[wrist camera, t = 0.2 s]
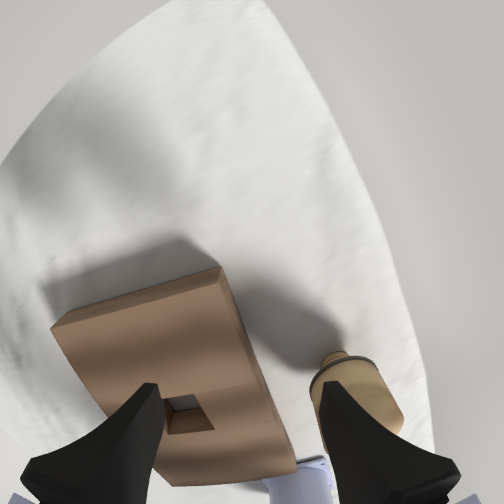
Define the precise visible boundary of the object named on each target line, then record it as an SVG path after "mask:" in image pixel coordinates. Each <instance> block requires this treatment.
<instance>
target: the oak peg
mask: <svg viewBox="0 0 504 504" xmlns="http://www.w3.org/2000/svg"><path fill="white" fill-rule="evenodd" d="M327 381H338V382H339V383H340V384H341V385H342V386H343V387H344V388H345V389H346V391H347V392H348V393H349V394H350V395H351V396H352V397H353V398H354V399H355V400H356V401H357V402H358V403H359V404H360V405H361V406H362V407H363V408H364V409H365V410H366V411H367V412H368V413H369V414H370V415H371V416H372V417H373V418H374V419H375V420H377V421H378V422H379V423H380V424H381V425H383V426H384V427H385V428H387V429H388V430H389V431H391V432H392V433H394V434H395V435H397V434H398V433H399V431H400V430H401V428H402V425H403V422H404V417H403V414H402V412H401V410H400V409H399V407H398V405H397V403H396V401H395V400H394V398H393V396H392V394H391V392H390V391H389V389H388V387H387V385H386V384H385V382H384V380H383V378H382V377H381V375H380V373H379V371H378V368H377V367H376V365H375V364H374V362H373V361H371V360H370V359H368V358H366V357H362V356H349V355H348V354H347V353H344V352H336V353H333V354H331V355H329V356H328V357H326V358H325V359H324V361H323V363H322V365H321V370H320V371H319V372H318V373H317V374H316V375H315V376H314V378H313V380H312V382H311V384H310V389H309V392H310V397H311V400H312V402H313V406H314V410H315V414H316V418H317V422H318V426H319V430H320V434H321V438H322V442H323V446H324V449H325V451H326V453H327V454H328V451H327V448H326V444H325V441H324V438H323V435H322V431H321V425H320V420H319V407H320V401H321V396H322V390H323V384H324V382H327ZM328 455H329V454H328Z"/></svg>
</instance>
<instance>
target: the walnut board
mask: <svg viewBox="0 0 504 504" xmlns="http://www.w3.org/2000/svg"><path fill="white" fill-rule="evenodd" d="M50 330H51V332H52V334H53V336H54V337H55V339H56V341H57V343H58V344H59V346H60V348H61V350H62V351H63V353H64V355H65V356H66V358H67V359H68V361H69V363H70V364H71V366H72V367H73V369H74V371H75V372H76V374H77V375H78V377H79V378H80V380H81V381H82V383H83V384H84V385H85V387H86V388H87V390H88V391H89V393H90V394H91V395H92V397H93V398H94V400H95V401H96V402H97V404H98V405H99V406H100V408H101V409H102V410H103V412H104V413H105V414H106V415H107V417H108V418H109V417H110V416H111V415H112V414H114V413H115V412H116V411H117V410H118V409H119V408H120V407H121V406H122V405H123V404H124V403H125V402H126V401H127V400H128V399H129V398H130V397H131V396H132V395H133V394H134V393H135V392H136V391H137V390H138V388H139V387H140V386H141V385H142V384H143V383H145V382H146V383H157V384H158V388H159V391H160V395H161V399H162V402H163V406H164V409H165V413H166V417H165V424H164V430H163V434H162V438H161V441H160V444H159V448H158V451H157V454H156V457H155V460H154V464H153V467H152V468H153V469H154V470H155V471H156V472H157V473H159V474H160V475H161V476H162V477H163V478H164V479H165V480H166V481H167V482H168V483H169V484H170V485H171V486H172V487H177V486H206V485H220V484H230V483H239V482H247V481H254V480H261V479H267V478H273V477H278V476H283V475H288V474H293V473H298V471H297V465H296V458H295V452H294V449H293V447H292V444H291V442H290V440H289V437H288V435H287V433H286V430H285V428H284V426H283V423H282V421H281V418H280V416H279V414H278V411H277V409H276V406H275V404H274V401H273V399H272V396H271V394H270V392H269V389H268V387H267V384H266V382H265V379H264V377H263V374H262V372H261V369H260V367H259V364H258V361H257V359H256V356H255V354H254V351H253V349H252V346H251V343H250V341H249V338H248V336H247V333H246V330H245V328H244V325H243V323H242V320H241V317H240V315H239V312H238V309H237V307H236V304H235V301H234V299H233V296H232V293H231V290H230V288H229V285H228V282H227V280H226V277H225V274H224V271H223V269H222V266H220V267H217V268H213V269H210V270H207V271H203V272H200V273H197V274H193V275H190V276H187V277H183V278H180V279H177V280H173V281H170V282H167V283H163V284H160V285H156V286H153V287H150V288H146V289H143V290H140V291H136V292H133V293H130V294H126V295H123V296H119V297H116V298H113V299H109V300H106V301H102V302H99V303H96V304H92V305H89V306H86V307H82V308H79V309H75V310H72V311H68V312H67V313H66V314H65V315H64V316H63V317H61V318H60V319H59V320H58V321H57V322H56V323H55V324H54V325H53V326H52V327H51V328H50ZM190 394H194V396H195V398H196V399H197V401H198V403H199V404H200V406H201V408H198V409H191V410H184V411H176V412H174V411H173V409H172V408H171V407H170V405H169V404H168V402H167V400H166V399H165V398H171V397H178V396H184V395H190Z"/></svg>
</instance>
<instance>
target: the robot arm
mask: <svg viewBox="0 0 504 504" xmlns="http://www.w3.org/2000/svg"><path fill="white" fill-rule="evenodd" d="M165 417H166V413H165V409H164V406H163V402H162V399H161V395H160V391H159V388H158V384H157V383H146V382H145V383H143V384H142V385H141V386H140V387H139V388H138V390H137V391H136V392H135V393H134V394H133V395H132V396H131V397H130V398H129V399H128V400H127V401H126V402H125V403H124V404H123V405H122V406H121V407H120V408H119V409H118V410H117V411H116V412H115V413H114V414H112V415H111V416H110V417H109V418H108V419H107V420H105V421H104V422H103V423H102V424H101V425H99V426H98V427H97V428H95V429H94V430H93V431H91V432H90V433H88V434H87V435H85V436H83V437H82V438H80V439H78V440H76V441H75V442H73V443H71V444H69V445H67V446H65V447H63V448H60V449H58V450H56V451H53V452H50V453H47V454H44V455H41V456H38V457H34V458H31V459H30V461H29V463H28V464H27V466H26V468H25V470H24V471H23V473H22V475H21V477H20V480H21V482H22V484H23V485H24V486H25V487H26V488H27V489H28V490H29V491H30V492H31V493H32V494H33V495H34V496H35V497H36V498H37V499H38V500H39V501H40V503H39V504H146V499H147V491H148V485H149V479H150V474H151V470H152V467H153V464H154V460H155V457H156V454H157V451H158V448H159V444H160V441H161V438H162V434H163V430H164V424H165ZM319 420H320V425H321V431H322V435H323V438H324V441H325V444H326V448H327V451H328V454H329V457H330V460H331V463H332V466H333V470H334V474H335V478H336V483H337V489H338V495H339V502H340V504H447V503H448V502H449V498H448V496H447V494H448V493H449V492H450V491H451V490H452V488H454V486H455V485H456V484H457V483H458V482H459V480H460V478H461V475H460V472H459V470H458V468H457V466H456V465H455V463H454V462H453V460H452V459H449V458H446V457H442V456H439V455H436V454H433V453H430V452H428V451H426V450H423V449H421V448H419V447H417V446H415V445H413V444H411V443H409V442H407V441H405V440H403V439H402V438H400V437H398V436H397V435H395V434H394V433H392V432H391V431H389V430H388V429H387V428H385V427H384V426H383V425H381V424H380V423H379V422H378V421H377V420H375V419H374V418H373V417H372V416H371V415H370V414H369V413H368V412H367V411H366V410H365V409H364V408H363V407H362V406H361V405H360V404H359V403H358V402H357V401H356V400H355V399H354V398H353V397H352V396H351V395H350V394H349V393H348V392H347V391H346V389H345V388H344V387H343V386H342V385H341V384H340V383H339V382H338V381H327V382H324V384H323V390H322V396H321V401H320V407H319ZM296 465H297V471H298V473H293V474H288V475H283V476H278V477H273V478H267V479H261V480H262V481H263V483H264V484H265V486H266V487H267V488H268V490H269V496H270V504H334V503H333V499H332V494H331V490H332V489H333V488H334V485H333V482H332V478H331V474H330V471H329V467H328V464H327V460H326V458H320V459H316V460H312V461H308V462H304V463H300V464H296ZM8 504H34V503H33V502H31V501H29V500H27V499H25V498H23V497H22V496H20V495H18V494H16V493H13V495H12V497H11V499H10V501H9V503H8ZM456 504H481V502H480V501H479V499H478V497H477V495H476V494H473V495H471V496H469V497H467V498H466V499H463V500H462V501H460V502H458V503H456Z"/></svg>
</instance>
